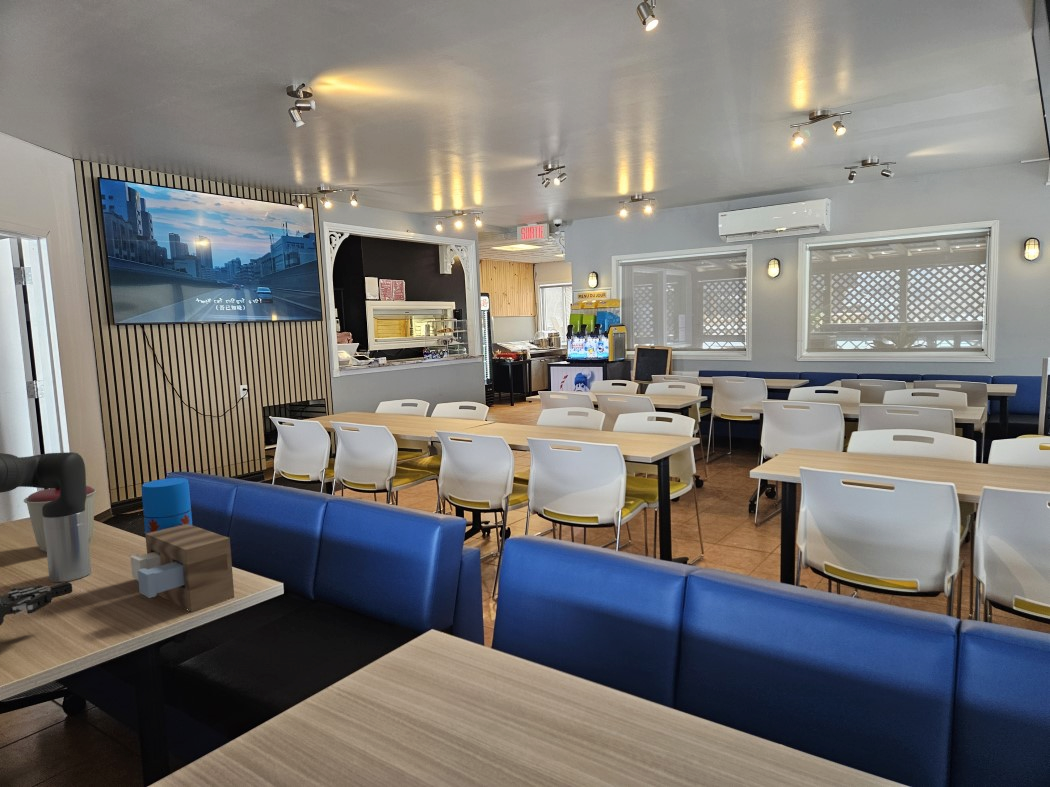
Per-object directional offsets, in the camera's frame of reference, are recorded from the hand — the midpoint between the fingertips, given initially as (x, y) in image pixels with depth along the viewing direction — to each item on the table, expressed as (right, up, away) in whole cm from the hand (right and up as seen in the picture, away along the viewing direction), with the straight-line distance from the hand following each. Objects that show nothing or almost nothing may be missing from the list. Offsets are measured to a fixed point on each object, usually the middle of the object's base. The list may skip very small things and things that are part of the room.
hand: (70, 587), depth 143 cm
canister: (-40, -5, +56) cm, 69 cm away
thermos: (+8, -6, +28) cm, 29 cm away
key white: (+12, -1, +15) cm, 19 cm away
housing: (+19, -6, +15) cm, 25 cm away
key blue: (+19, -2, +5) cm, 20 cm away
